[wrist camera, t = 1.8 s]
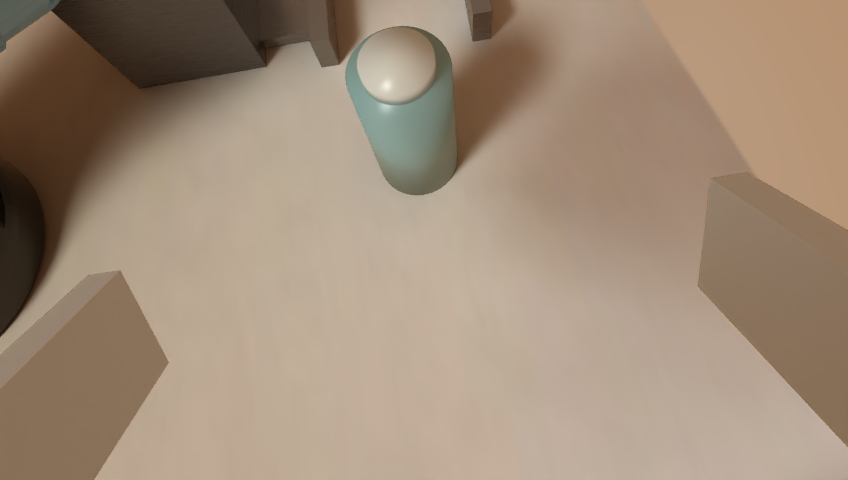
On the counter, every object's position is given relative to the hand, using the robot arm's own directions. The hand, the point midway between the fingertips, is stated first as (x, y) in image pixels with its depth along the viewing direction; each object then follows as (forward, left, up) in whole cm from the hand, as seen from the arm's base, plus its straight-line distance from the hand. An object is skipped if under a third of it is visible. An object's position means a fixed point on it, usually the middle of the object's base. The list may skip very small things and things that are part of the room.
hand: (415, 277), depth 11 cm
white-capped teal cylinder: (-5, +10, -17) cm, 20 cm away
